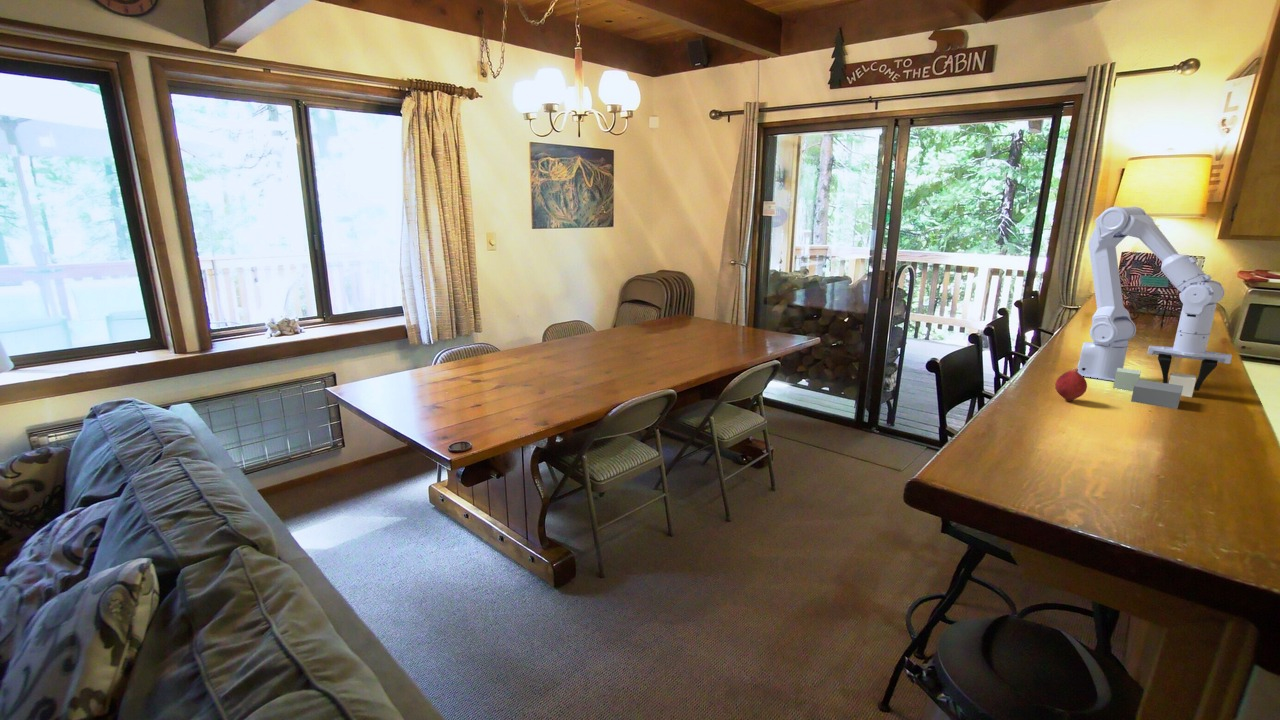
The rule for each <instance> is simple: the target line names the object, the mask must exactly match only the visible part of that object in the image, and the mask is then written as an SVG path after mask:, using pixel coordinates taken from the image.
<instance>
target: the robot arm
mask: <svg viewBox="0 0 1280 720" xmlns="http://www.w3.org/2000/svg"><path fill="white" fill-rule="evenodd" d="M1094 223H1095V227H1094V229H1093V231H1092V233H1091V237H1090V238H1089V242H1088V249H1089V257H1090V258H1089V259H1090V264H1091V274H1092V282H1093V287H1094V289H1093V290H1094V295H1095V303H1096V311H1095V312H1094V314H1093V315H1092V316H1091V320H1092V321H1091V322H1092V323H1091V327H1090V329H1089V336H1090V338H1091V339H1092V342H1091V341H1090V342H1088V341H1084V342H1083V344H1082V347H1081V351H1080V356H1079V361H1078V363H1077V367H1076V368H1077V369H1078V373H1079V374H1081V375H1082V376H1084V378H1090V377H1091V379H1097V378H1098V379H1099V380H1105V381H1112V382H1114V380H1115V375H1116V371H1117V368H1124V366H1125V362H1126V356H1127V352H1128V348H1129V347H1128V346H1129V340H1131V339H1132V338H1134V337H1135V335H1136V333H1137V327H1136V325H1135V323H1134V322H1133V320H1132V318H1131V316H1130V312H1129V311H1128V309H1127V308H1125V306H1124V301H1123V293H1122V285H1121V278H1120V271H1119V270H1120V269H1119V263H1118V255H1117V246H1118V245H1119V244H1120V243H1121V242H1122V241H1123V240H1124V239H1125V238H1127V237H1132V238H1135V239H1139V240H1140V241H1141V242H1142V244H1143V245H1145V246H1146V248H1148V249H1149V250H1150V251H1151V252H1152V253H1153V255H1155V256H1156V257H1157V258H1158V259H1159V261H1161V267H1160V270H1161V272H1162V273H1163V275H1165V277H1166V278H1167V280H1169V281H1170V283H1171V284H1172V285H1173V286H1174V287H1175V288H1176V290H1177V291H1179V292H1180V293H1179V295H1178V296H1179V300H1180V301H1181V303H1182V308H1181V312H1180V315H1179V321H1178V325H1177V329H1176V334H1175V338H1174V342H1173V346H1157V345H1148V349H1147V355H1151V356H1153V355H1155V356H1157V360H1158V362H1159V366H1160V369H1161V373H1162V383H1167V384H1168V383H1169V372H1170V367H1171V363H1172V359H1173V358H1180V359H1188V360H1190V359H1191V360H1196V361H1197V360H1199V361H1201V364H1200V368H1199V372H1198V376H1197V378H1196V382H1195V386H1194V391H1195V392H1196V391H1200V389H1201V385H1203V383H1204V381H1205V380H1206V378H1207V377H1208V376H1210V374H1211V373H1212V371H1214V370H1215V369H1216V367H1217V366H1218V363H1222V364H1228V365H1230V364H1231V362H1232V358H1233V355H1232V354H1231V353H1222V352H1216V351H1215V352H1214V351H1209V350H1207V348H1208V343H1209V338H1210V334H1211V330H1212V327H1213V322H1214V318H1215V313H1216V308H1217V303H1219V302H1220V301H1221V300H1223V298H1224V296H1225V289H1224V287H1223V285H1222V284H1221V282H1219V281H1216V280H1212V278H1213V277H1212V276H1211V275H1210V274H1206V273H1205V272H1204V271H1203V269H1202V268H1201V267H1200V266H1199V265H1198V264H1197V263H1198V261H1199V260H1198V259H1197V258H1196V256H1194V257H1191V256H1190V255H1189V254H1181V253H1179V252H1178V251H1177V250H1176V249H1175V247H1174V246H1173V245H1172V243H1170V241H1169V239H1167V237H1166V236H1165V234H1163V232H1162V231H1161V230H1160V228H1159V227H1158V225H1157V224H1156V223H1155V221H1154V219H1153V217H1152V216H1150V215H1149V214H1147V213H1146V211H1145V210H1144V209H1142V207H1139V206H1130V207H1126V206H1125V207H1123V206H1122V207H1121V206H1111V207H1109V208H1106V209H1105V210H1104V211H1103V212H1102V213H1100V214H1099V216H1098V217H1096V219H1095V220H1094Z"/></svg>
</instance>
